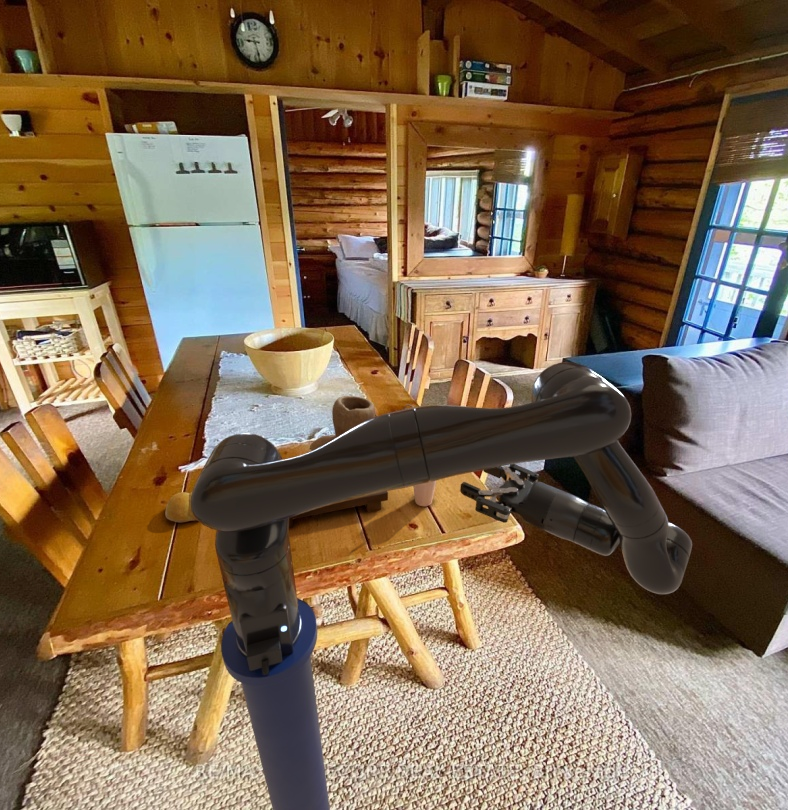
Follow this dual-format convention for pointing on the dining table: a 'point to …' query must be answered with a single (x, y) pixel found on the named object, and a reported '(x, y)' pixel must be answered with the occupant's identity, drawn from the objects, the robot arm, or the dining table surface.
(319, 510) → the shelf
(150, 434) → the dining table surface
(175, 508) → the bread roll
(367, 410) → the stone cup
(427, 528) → the dining table surface
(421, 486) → the smoothie
